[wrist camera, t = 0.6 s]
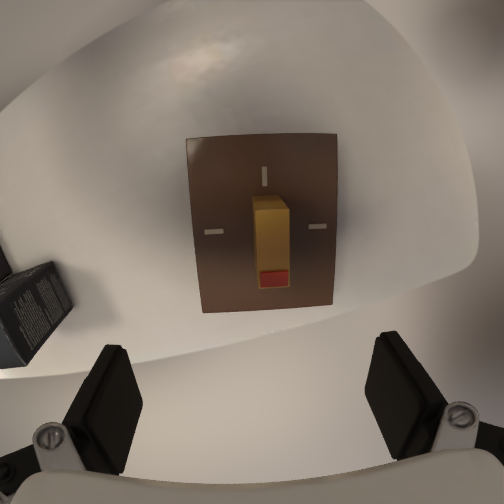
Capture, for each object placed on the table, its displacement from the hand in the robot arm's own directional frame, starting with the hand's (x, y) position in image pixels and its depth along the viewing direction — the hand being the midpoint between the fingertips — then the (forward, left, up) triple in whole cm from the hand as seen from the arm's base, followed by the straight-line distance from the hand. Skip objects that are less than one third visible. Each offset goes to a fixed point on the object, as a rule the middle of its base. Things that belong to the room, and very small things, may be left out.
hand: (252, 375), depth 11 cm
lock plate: (-2, +2, -17) cm, 17 cm away
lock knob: (-2, +2, -14) cm, 14 cm away
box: (+4, -22, -17) cm, 29 cm away
